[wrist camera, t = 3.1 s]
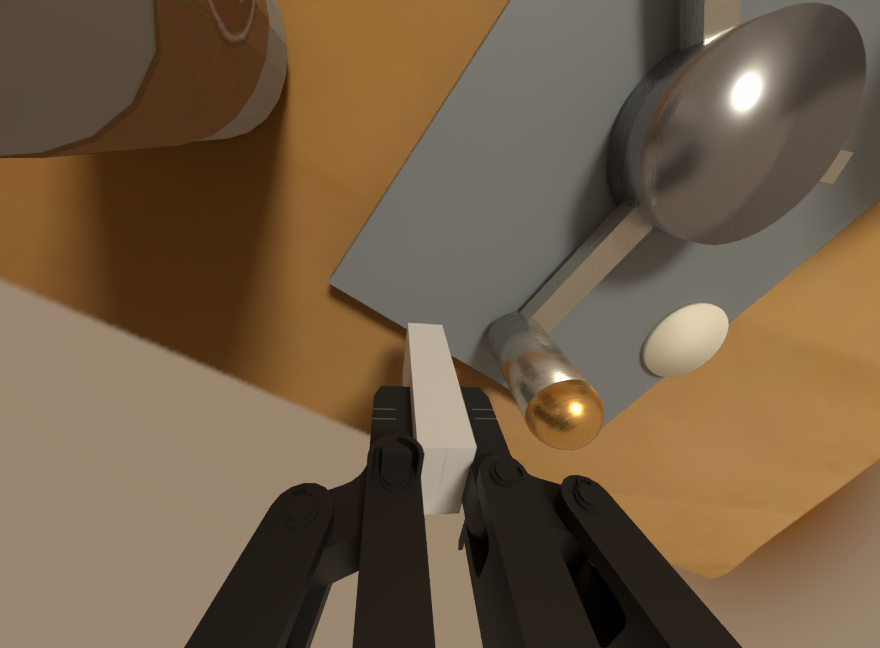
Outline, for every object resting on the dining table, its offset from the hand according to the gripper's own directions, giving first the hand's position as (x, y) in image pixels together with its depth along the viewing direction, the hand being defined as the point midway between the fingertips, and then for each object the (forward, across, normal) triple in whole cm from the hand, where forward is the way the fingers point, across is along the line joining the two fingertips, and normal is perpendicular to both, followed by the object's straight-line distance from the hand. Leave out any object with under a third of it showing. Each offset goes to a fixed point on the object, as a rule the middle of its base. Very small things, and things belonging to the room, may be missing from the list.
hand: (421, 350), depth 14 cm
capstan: (+2, +8, +6) cm, 10 cm away
